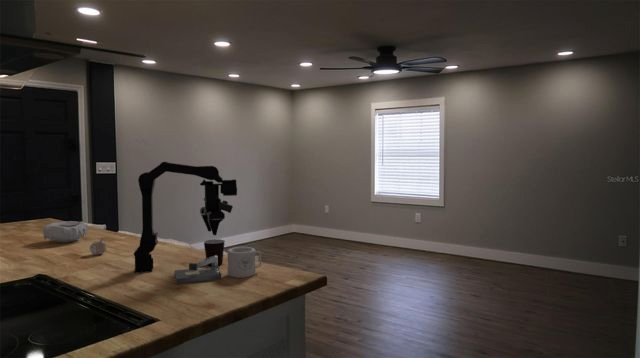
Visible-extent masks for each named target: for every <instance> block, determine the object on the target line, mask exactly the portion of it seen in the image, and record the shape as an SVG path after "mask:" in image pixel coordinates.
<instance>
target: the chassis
mask: <svg viewBox="0 0 640 358" xmlns="http://www.w3.org/2000/svg"><path fill="white" fill-rule="evenodd" d="M173 273H174V274H173V275H174V280H175V283H176V285H183V284H194V283H201V282H202V283H203V282H210V281H211V282H212V281H219V280H220V281H221V280H222V273H221V271H220V270H218V269H217V267H216V266H215V267H212V266H205V267H204V266H203V267H199V268H197V270H189V268H186V269H177V270H174V271H173Z"/></svg>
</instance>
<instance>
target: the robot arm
mask: <svg viewBox="0 0 640 358" xmlns="http://www.w3.org/2000/svg"><path fill="white" fill-rule="evenodd" d="M166 172H167V173H174V174H184V175H191V176H196V177H198V178H202V179H203V180H202V182H200V183H199V185H200V186H203V187H204V197H203V201H204V206H202V207H200V209H199V214H200V216H201V218H202V220H203V222H204V225H205V227H206V230H207V231H208V232H211V233H212V235H213V236H217V234H218V229H219V226H220V223H221V222H222V221H224V219H226V215H225V213H224V212H227V213H229V214H232V210H233V208H234V206H233V205H232V204H229V201H227V200H221V198H220V196H219V195H220V194H222V196H223V197H232V196H234V197H235V196H237V195H238V187H237V180H236V178H235V179H223V177H221V175H220V172H219V169H218V167H217V166H214V165H198V166H197V165H196V166H195V165H188V164H181V163H174V162H168V161H162V162H160V164H158V165H156V167H154V168H153V169H151V170H150V171H146V172H142V173H141V174H140V175H138V179H137V180H138V181H137V182H138V184H139V185H138V186H139V190H140V192H141V209H142V210H141V211H142V213H141V215H142V218H141V219H142V222H141V223H142V231H141V235H140V240H139V246H138V247H137V248H136V249H135V251H134V252H133V255H134V273H135V274H139V273H149V272H153V269H154V257H152V252H153V251H154V250H155V248H156V246H157V245H158V243H159V240H158V233H159V232H155V231H154V213H153V211H154V209H153V207H154V205H153V204H154V203H153V201H154V200H153V194H154V190H155V185H156V181H157V180H156V179H158V178H159V177H160V176H162V175H163V174H165V173H166ZM214 182H216V183H214ZM223 211H224V212H223Z"/></svg>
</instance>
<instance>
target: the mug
mask: <svg viewBox="0 0 640 358" xmlns="http://www.w3.org/2000/svg"><path fill="white" fill-rule="evenodd" d="M226 254H227V275H228V276H229V277H231V278H233V279H245V278H250V277H253V276H254V275H255V274H256V269H258V268H260V267H261V266H262V252H261V251H259V250H256V248H254V247H250V246H235V247H232V248H229V249H228V250H227V252H226ZM256 254H259V265H256Z"/></svg>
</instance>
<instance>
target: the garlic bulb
mask: <svg viewBox="0 0 640 358" xmlns="http://www.w3.org/2000/svg"><path fill="white" fill-rule="evenodd" d="M103 240H104V238H101V239H100V240H97V241H95V242H93V243H92V244H91V245H90V247H89V251H90V253H91V254H92V255H95V256H99V255H103V254H104V253H105V252H106V251H107V245H106V244H107V243H106V242H105V241H103Z"/></svg>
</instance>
